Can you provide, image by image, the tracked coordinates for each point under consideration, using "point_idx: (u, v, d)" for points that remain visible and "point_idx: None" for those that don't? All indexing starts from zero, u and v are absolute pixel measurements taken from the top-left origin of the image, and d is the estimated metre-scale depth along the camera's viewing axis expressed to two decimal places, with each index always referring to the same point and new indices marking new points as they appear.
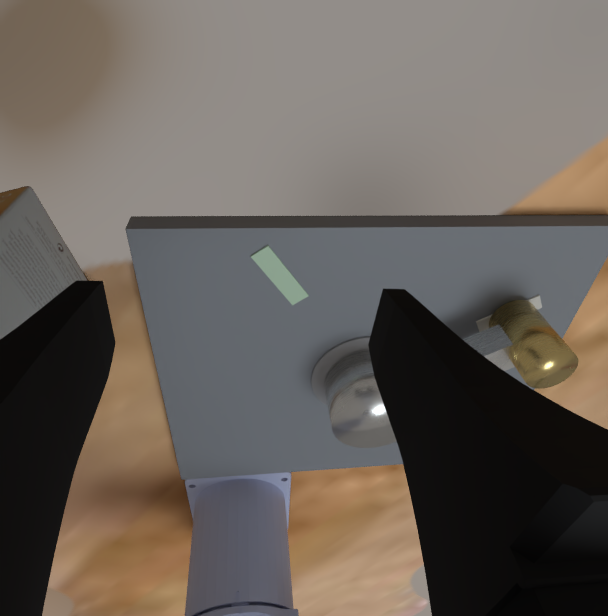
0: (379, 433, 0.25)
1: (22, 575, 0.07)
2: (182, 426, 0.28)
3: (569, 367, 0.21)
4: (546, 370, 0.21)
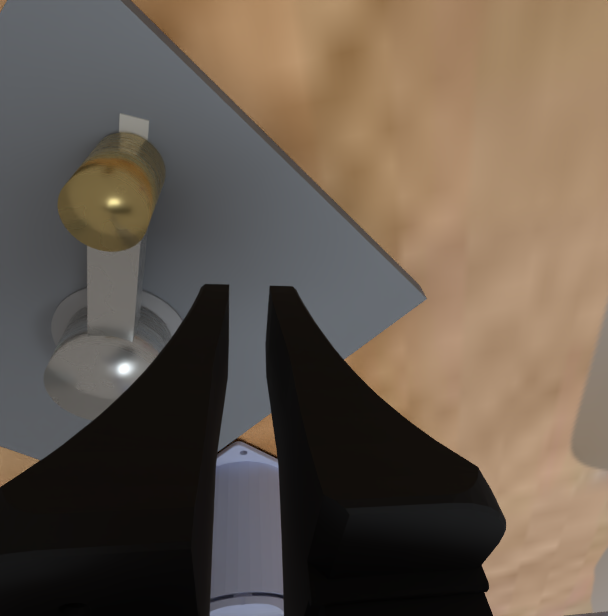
0: None
1: (208, 562, 0.08)
2: None
3: (115, 192, 0.13)
4: (99, 220, 0.14)
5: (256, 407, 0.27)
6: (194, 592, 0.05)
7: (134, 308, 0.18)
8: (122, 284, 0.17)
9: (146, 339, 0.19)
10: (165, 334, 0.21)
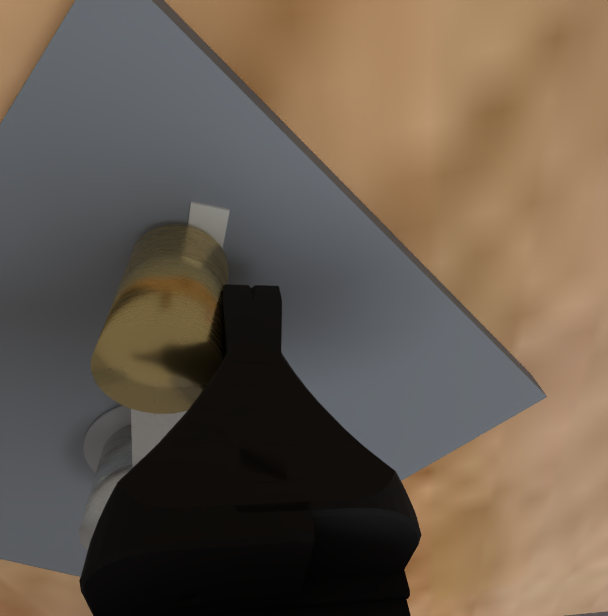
0: None
1: None
2: None
3: (176, 343, 0.09)
4: (152, 379, 0.09)
5: None
6: (301, 584, 0.05)
7: None
8: None
9: None
10: None
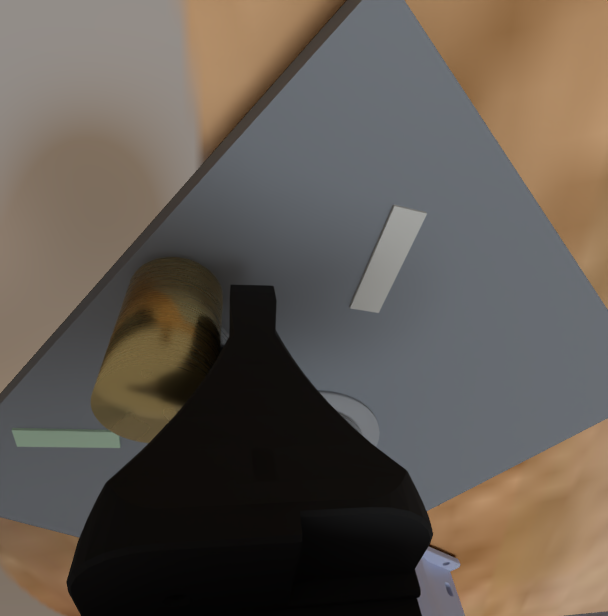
0: None
1: None
2: None
3: (143, 379, 0.09)
4: (156, 414, 0.10)
5: (423, 501, 0.23)
6: (290, 585, 0.05)
7: None
8: None
9: None
10: None
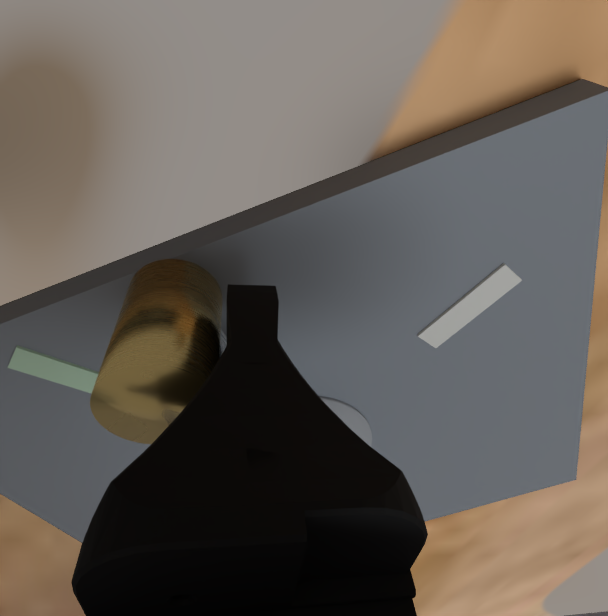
0: None
1: None
2: None
3: (144, 380, 0.09)
4: (155, 415, 0.10)
5: None
6: (294, 584, 0.05)
7: None
8: None
9: None
10: None
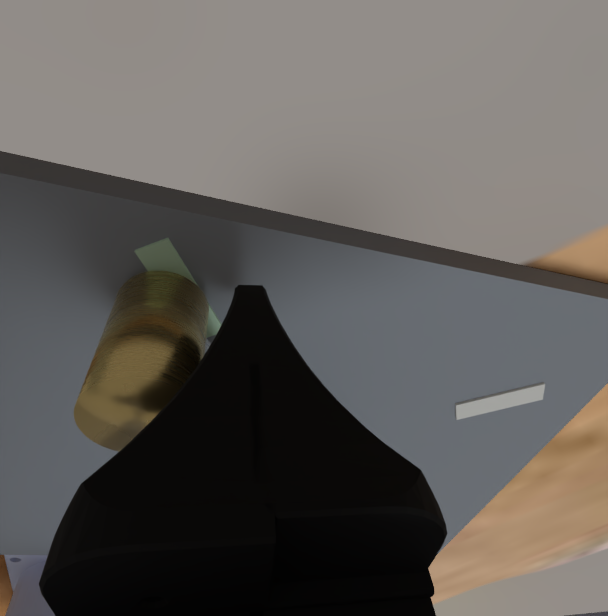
0: None
1: None
2: None
3: (126, 393, 0.09)
4: (138, 426, 0.10)
5: None
6: (267, 586, 0.05)
7: None
8: None
9: None
10: None
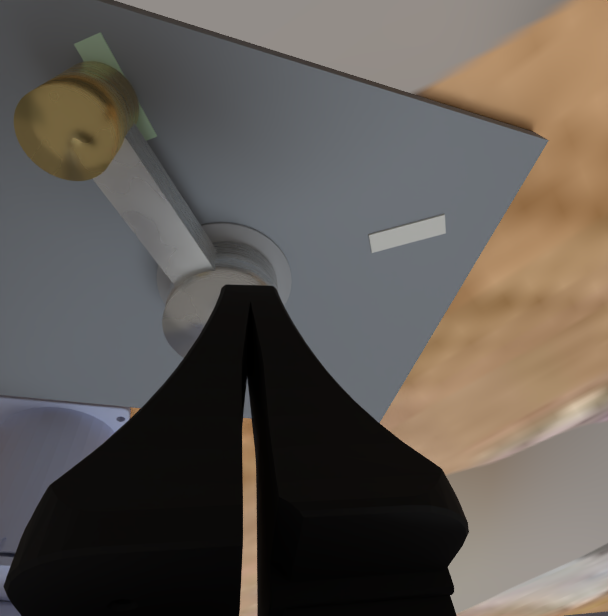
0: None
1: None
2: None
3: (52, 103, 0.12)
4: (66, 145, 0.13)
5: None
6: (238, 589, 0.05)
7: (188, 233, 0.16)
8: (160, 214, 0.16)
9: (229, 263, 0.18)
10: (251, 254, 0.19)
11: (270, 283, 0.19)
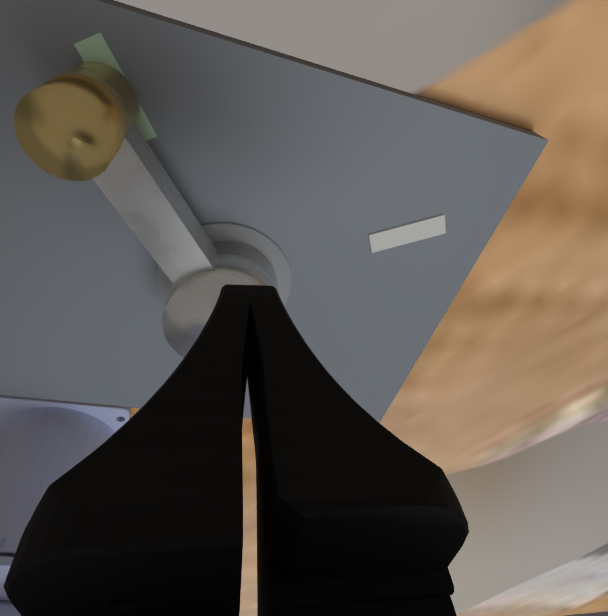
0: None
1: None
2: None
3: (52, 103, 0.12)
4: (66, 145, 0.13)
5: None
6: (238, 589, 0.05)
7: (188, 233, 0.16)
8: (160, 214, 0.16)
9: (229, 263, 0.18)
10: (251, 254, 0.19)
11: (270, 283, 0.19)
